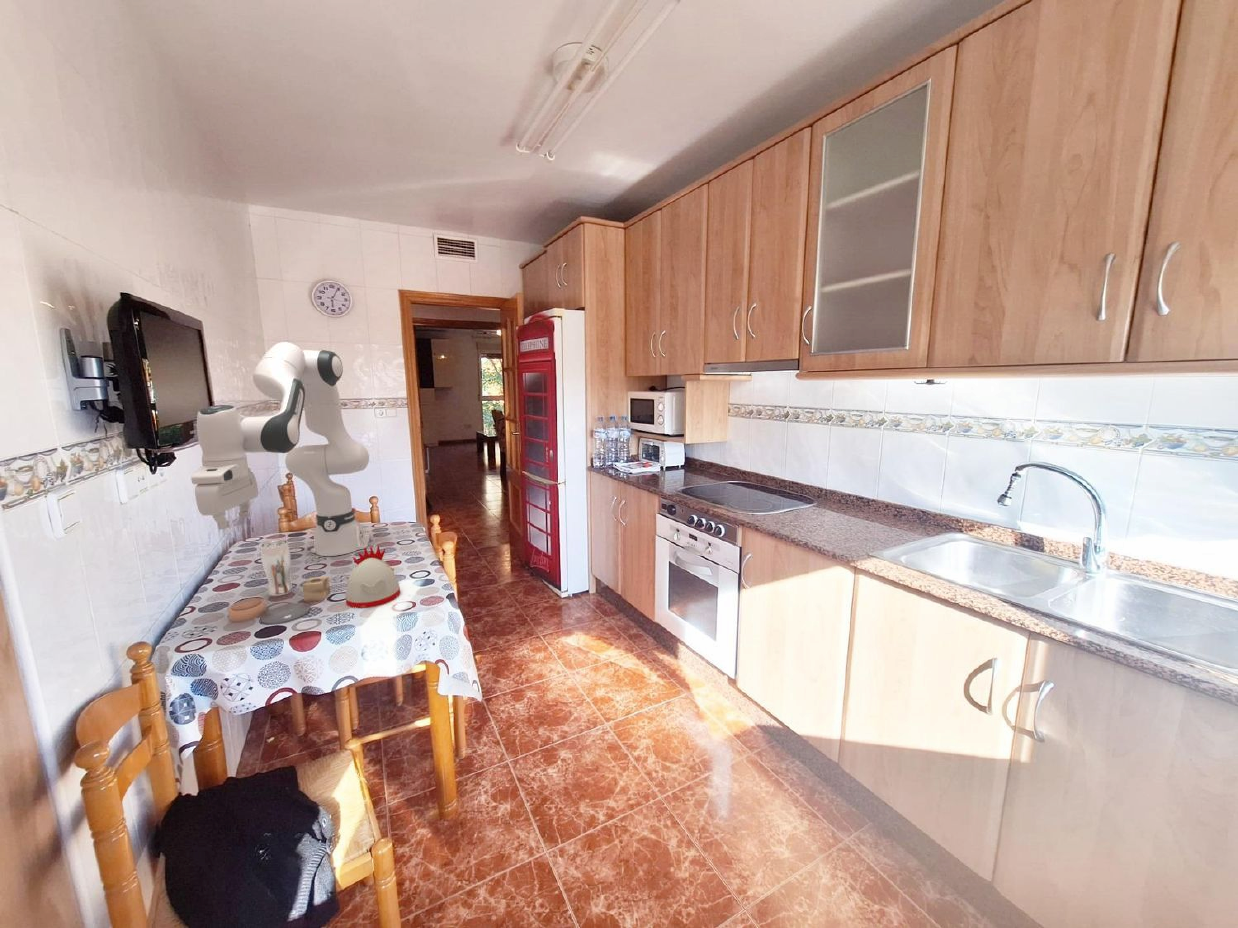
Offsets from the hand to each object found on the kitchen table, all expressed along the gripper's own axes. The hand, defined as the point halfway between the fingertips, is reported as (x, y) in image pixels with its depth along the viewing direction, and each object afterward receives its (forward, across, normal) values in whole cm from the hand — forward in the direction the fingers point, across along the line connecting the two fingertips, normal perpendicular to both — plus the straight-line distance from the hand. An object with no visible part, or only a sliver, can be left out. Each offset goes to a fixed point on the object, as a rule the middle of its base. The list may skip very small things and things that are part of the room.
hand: (234, 523), depth 126 cm
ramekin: (+26, 0, 0) cm, 26 cm away
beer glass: (+25, -14, +2) cm, 29 cm away
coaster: (+25, +2, +10) cm, 27 cm away
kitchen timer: (+26, -4, +30) cm, 39 cm away
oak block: (+25, -8, +14) cm, 30 cm away
